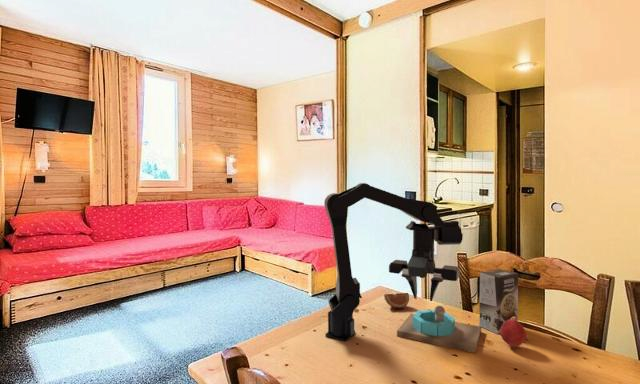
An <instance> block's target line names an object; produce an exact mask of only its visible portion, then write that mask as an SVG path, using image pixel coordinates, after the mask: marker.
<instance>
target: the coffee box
mask: <svg viewBox="0 0 640 384" xmlns="http://www.w3.org/2000/svg"><path fill="white" fill-rule="evenodd" d="M518 296H519V273H518V272H514V271H510V270H504V269H500V268H497V269H494V270H487V271H482V272H481V271H480V273H479V309H478V310H479V311H478V312H479V313H478V315H479V317H478V326H480V327H481V328H483V329H485V330H488V331H490V332H492V333H494V334H496V335H499V334H500V329H501V326H502V324H503V323H504V322H506V321H507V320H509V319H511V318H512V317H516V321H518V319H519V318H518V317H519V315H518V312H519V307H518V306H519V297H518ZM518 322H519V321H518Z"/></svg>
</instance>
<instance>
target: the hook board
mask: <svg viewBox="0 0 640 384" xmlns="http://www.w3.org/2000/svg"><path fill="white" fill-rule="evenodd" d="M433 310H434V311H435V323H440V322H444V314H445V313H446V310H445V308H444V307H443V306H442V305H436V306H435V308H434V309H433ZM414 314H415V313H410V314H409V315H408V317H407V318H406V319H405V320H404V321H403V322H402V324H401V325H400V326H399V327H398V329H396V336H397V337H402V338H405V339H410V340H414V341H417V342H418V341H419V342H423V343H428V344H431V345H436V346H441V347H445V348H450V349H455V350H458V351H459V350H460V351H464V352H468V353H472V354H473V353H474V354H476V353H477V349H478V346H479V345H478V344H479V341H480V338H481V334H482V327H480V326H479V325H474V324H468V323H464V322H457V321H455V329H454V332H453V334H451V335H446V336H439V337H438V336H432V335H427V334H422V333H420V332H419V331H418V330H416V329H415V328H414V327H413V315H414Z"/></svg>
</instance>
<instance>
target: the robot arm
mask: <svg viewBox="0 0 640 384" xmlns="http://www.w3.org/2000/svg"><path fill="white" fill-rule="evenodd" d="M364 199H367V200H370V201H373V202H376V203H379V204H382V205H384V206H387V207H390V208H394V209H396V210H399V211H401V213H403V214H404V215H405V214H406V215H407V216H408V217H411V218H413V219H414V220H416V221H419V222H421V223H416V221H414V220H411V221H410V223H408V224H407V225H406V226H405V229H407V230H408V231H412V232H413V233H412V251H411V256H410V258H409V260H408V261H407V260H401V259H395V260H393V261H392V262H390V263H389V266H388V272H389V273H391V274H397V275H398V274H400V273H402V274H401V277H402V278H405V280H407V283H408V285H409V286H410V290H411V293H412V295H413V299H414V300H415V299H417V298H418V297H417V296H418V280H417V279H418V278H420V279H421V278H422V279H424V278H427V276H428V275H432V276H433V277H432V278H431V279H430V290H429V291H430V293H429V300H430V301H429V302H433V299H434V297H435V295H436V291H437V289H438V286H439V284H440V283H442V282H444V281H452V282H457V281H458V280H459V278H460V275H461V271H460V268H459V267H458V266H456V265H455V266H454V265H446V264H444V266H442V268H441V267H436V261H435V242H436V243H437V244H438V246H443V245H444V246H445V245H446V246H447V245H448V246H449V245H452V246H453V245H454V246H455V245H461V244H462V242H463V235H464V234H463V232H462V229H461V226H460V222H459V221H458V220H449V221H448V220H447V221H443V219H442V218H441V217H440V215H439V214H438V209H437V206H436V205H435V204H434V203H433V202H431V201H425V200H419V199H418V200H417V199H412V198H406V197H403V196H400V195H398V194H394V193H391V192H389V191H386V190H384V189H381V188H377V187H375V186H372V185H370V184H368V183H365V182H361V183H358V184H356V185H355V186H353V187H350V188H348V189H346V190H343V191H341V192H339V193H336V192H335V193H334V192H333V193H329V194H328V195H327V196H326V197H325V199H324V203H323V206H324V208H325V211H326V215H327V218H328V220H329V223H330V227H331V232H332V240H333V249H334V256H335V265H336V273H337V277H336V283H335V294H334V295H332V297H331V298H330V299H329V300H328V301H327V302H328V305H329V308H330V310H329V311H328V313H327V329H328V330H327V332H326V333H325V337H328V338H331V339H335V340H339V341H344V342H347V341H348V340H349V339H350V338H352V336H353V335H354V334H355V333H356V330H355V319H354V318H353V317H354V311H355V310H356V309H357V308H358V306H360V304H361V303H360V302H361V300H360V299H363V297H362V295H361V284H360V281H359V280H358V279H357V278H356V277H353V274H352V273H353V272H352V265H351V257H350V251H349V241H348V233H347V221H348V216H349V215H348V211H349V208H350V207H351V206H354V205H355V204H356V203H358V202H361V201H362V200H364ZM422 222H423V223H422ZM429 224H430V225H433V226H429Z"/></svg>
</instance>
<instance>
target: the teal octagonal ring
mask: <svg viewBox="0 0 640 384" xmlns="http://www.w3.org/2000/svg"><path fill="white" fill-rule="evenodd" d="M413 314H414V315H413V327H414V328H415V329H416V330H418V331H419V332H420V333H422V334H427V335H432V336H438V337H439V336H446V335H451V334H453V332H454V329H455V322H456V319H455V317H454V316H452V315H450V314H449V313H447V312H445V314H444V322H440V323H435V311H434V309H425V310H424V309H423V310H417V311H416V312H414V313H413Z"/></svg>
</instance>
